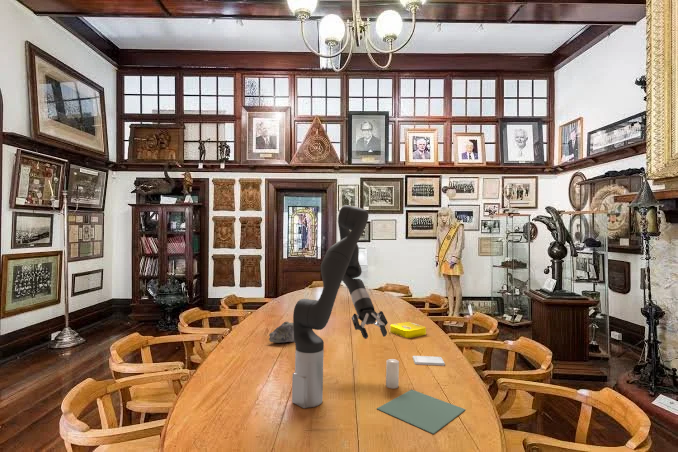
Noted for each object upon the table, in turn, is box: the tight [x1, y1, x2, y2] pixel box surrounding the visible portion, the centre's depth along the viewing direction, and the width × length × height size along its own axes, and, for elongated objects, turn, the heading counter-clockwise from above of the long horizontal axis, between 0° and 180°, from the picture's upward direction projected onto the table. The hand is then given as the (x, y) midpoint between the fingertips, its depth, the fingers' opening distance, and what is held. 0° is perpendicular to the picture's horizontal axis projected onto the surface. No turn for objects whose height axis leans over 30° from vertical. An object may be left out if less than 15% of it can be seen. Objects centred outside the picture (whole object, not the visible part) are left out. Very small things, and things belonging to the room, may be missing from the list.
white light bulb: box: [385, 358, 400, 390], centre depth 136 cm, size 4×4×9 cm
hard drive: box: [412, 355, 446, 367], centre depth 162 cm, size 2×8×12 cm
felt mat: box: [376, 389, 466, 435], centre depth 119 cm, size 20×20×1 cm
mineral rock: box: [268, 321, 295, 344], centre depth 186 cm, size 13×11×10 cm
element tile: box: [389, 321, 427, 339], centre depth 206 cm, size 15×15×5 cm
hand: (376, 336), depth 147 cm, fingers open, 8 cm apart
